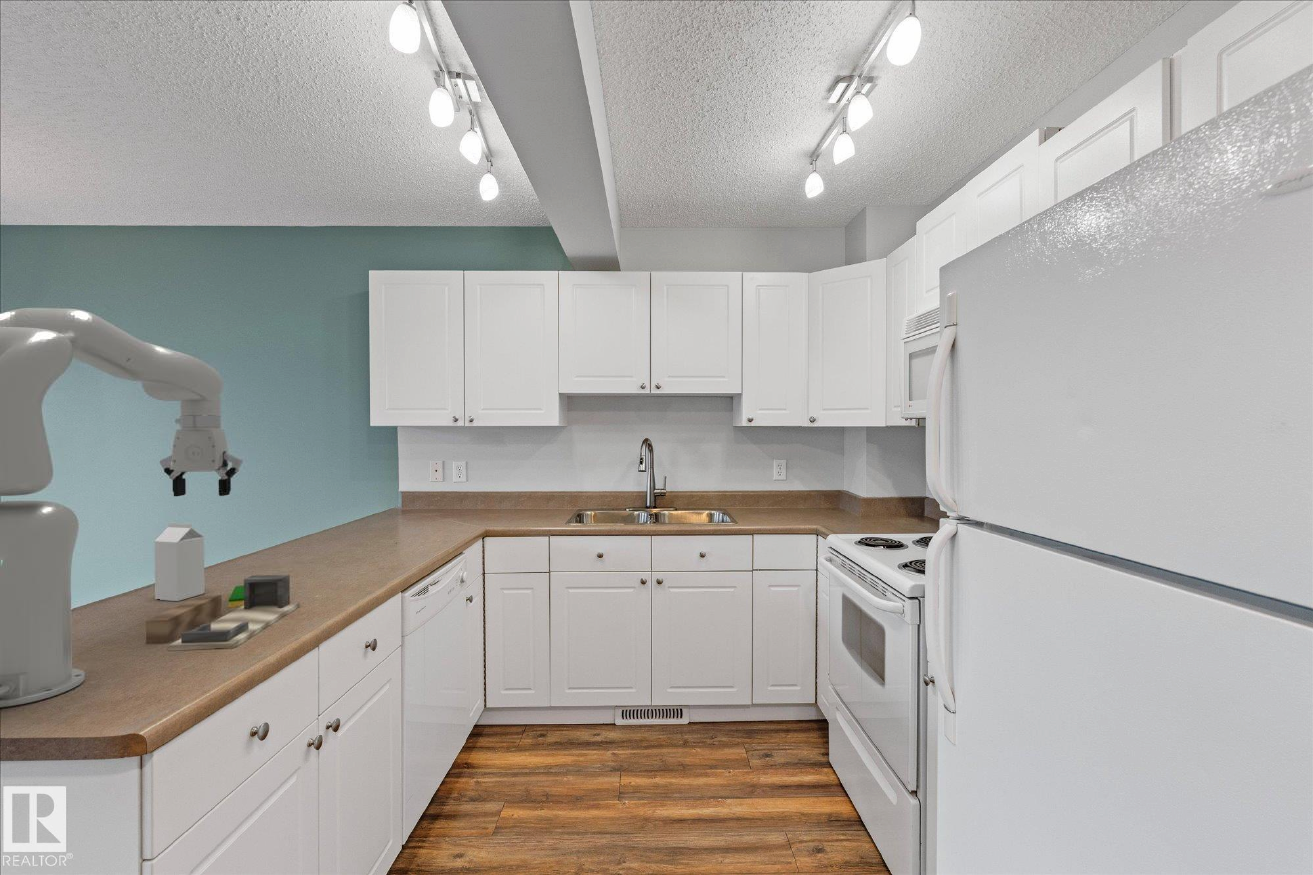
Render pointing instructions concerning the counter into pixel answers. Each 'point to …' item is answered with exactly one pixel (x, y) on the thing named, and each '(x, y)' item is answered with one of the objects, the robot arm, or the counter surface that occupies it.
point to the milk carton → (179, 563)
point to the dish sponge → (237, 597)
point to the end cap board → (243, 615)
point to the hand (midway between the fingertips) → (202, 495)
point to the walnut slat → (183, 618)
